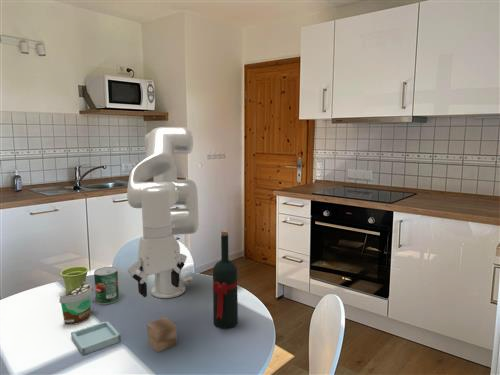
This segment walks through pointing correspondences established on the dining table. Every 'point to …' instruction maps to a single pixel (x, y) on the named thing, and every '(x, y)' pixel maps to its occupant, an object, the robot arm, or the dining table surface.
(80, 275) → the plant pot
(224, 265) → the wine bottle
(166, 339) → the cube
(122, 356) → the dining table surface
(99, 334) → the tray
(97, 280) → the canned tomato
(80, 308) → the food container
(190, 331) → the dining table surface
